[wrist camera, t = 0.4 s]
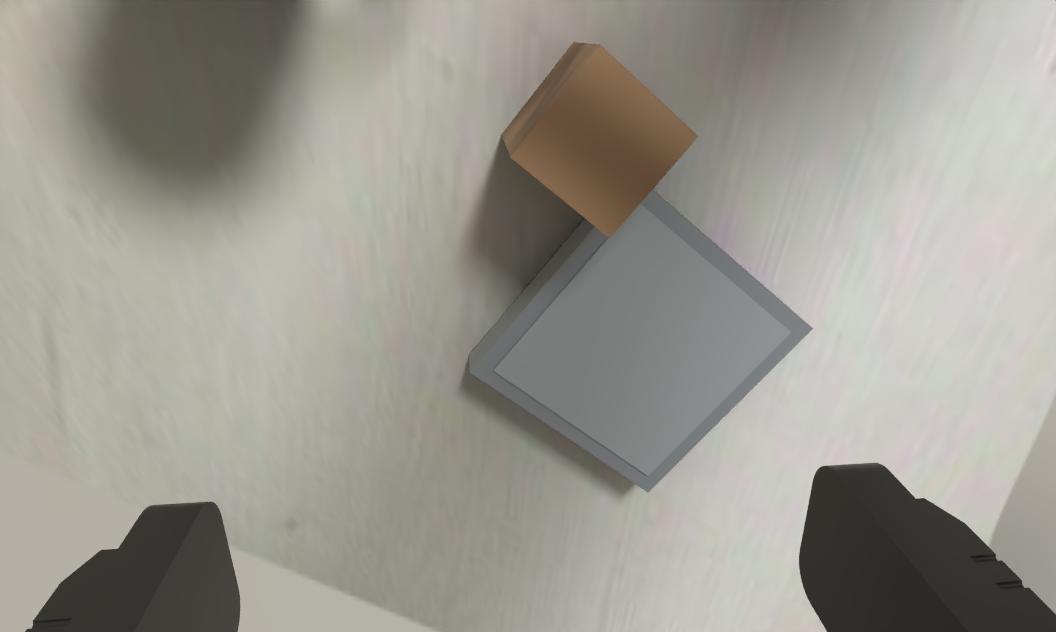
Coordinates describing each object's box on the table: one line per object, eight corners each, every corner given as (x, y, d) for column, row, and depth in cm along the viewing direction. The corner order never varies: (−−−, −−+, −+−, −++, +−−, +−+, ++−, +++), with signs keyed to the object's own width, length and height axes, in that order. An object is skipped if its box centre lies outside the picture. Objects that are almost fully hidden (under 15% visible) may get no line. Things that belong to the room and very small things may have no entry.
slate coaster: (627, 168, 32) (638, 177, 30) (794, 313, 35) (813, 329, 33) (469, 354, 35) (469, 373, 33) (638, 470, 38) (648, 493, 36)
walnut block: (573, 42, 29) (599, 44, 24) (655, 117, 31) (698, 136, 25) (501, 135, 31) (510, 157, 25) (583, 202, 32) (609, 238, 27)
